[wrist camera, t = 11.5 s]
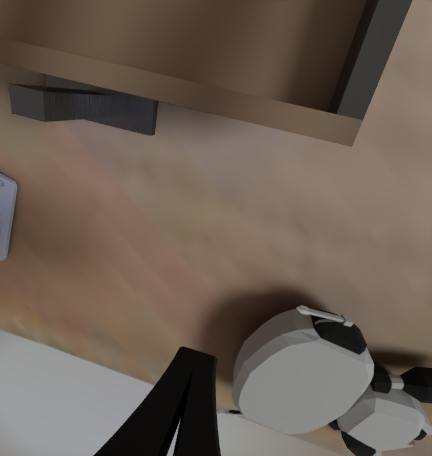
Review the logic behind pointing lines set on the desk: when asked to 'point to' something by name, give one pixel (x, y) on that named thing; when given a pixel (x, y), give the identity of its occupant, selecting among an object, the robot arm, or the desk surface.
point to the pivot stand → (83, 104)
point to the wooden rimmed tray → (217, 54)
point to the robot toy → (327, 384)
